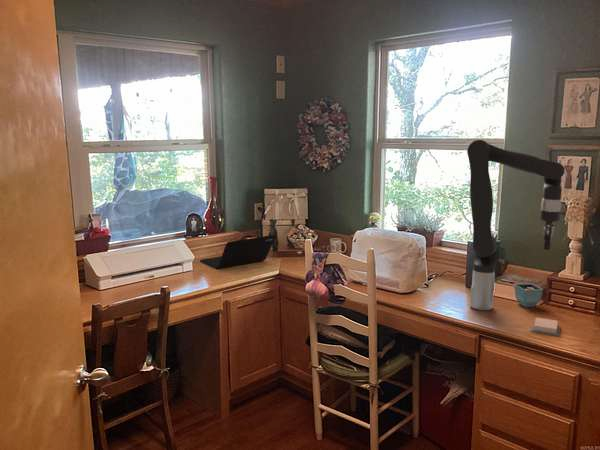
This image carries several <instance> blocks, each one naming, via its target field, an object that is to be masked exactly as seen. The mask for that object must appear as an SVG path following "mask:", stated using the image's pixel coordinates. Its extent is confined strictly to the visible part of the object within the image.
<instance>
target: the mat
mask: <svg viewBox="0 0 600 450" xmlns="http://www.w3.org/2000/svg"><path fill="white" fill-rule="evenodd" d="M534 324H535V321H534V322H532V323H531V328H530V332H533V333H539V334H546V335H551V336H557V337H559V336H560V329H561V326H559V325H557V332H556V334H553V333H547V332H541V331H535V330H534Z"/></svg>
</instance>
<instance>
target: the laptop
mask: <svg viewBox="0 0 600 450" xmlns="http://www.w3.org/2000/svg"><path fill="white" fill-rule="evenodd" d="M276 236H277V234H271V235H270V234H269V235H264V236H257V237H252V238H244V239H239V240H233V241H228V242H227V243H226V244H225V246H224V248H223V252H222V254H221V255H220V256H214V257H209V258H203V259H200V260H199V261H200V262H201V263H203V264H204V265H207V266H209V267H212V268H214V269H216V270H222V269H227V268H231V267H237V266H243V265H246V264H248V265H249V264H253V263H259V262H263V261H266V259H267V258H268V255H269V253H270V250H271V248H272V247H273V244H274V243H275V239H276V238H277V237H276Z"/></svg>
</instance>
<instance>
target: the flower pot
mask: <svg viewBox="0 0 600 450" xmlns="http://www.w3.org/2000/svg"><path fill="white" fill-rule="evenodd" d="M527 287H533V288H534V289H535V290H525V288H527ZM514 294H515V299H516V301H517V303H518V304H519V305H520V306H521V307H522V306H523V307H524V308H534V307H536V306H537V305H538V303H540V300H541V298H542V294H543V288H541V287H539V286H538V285H535V284H533V283H523V284H522V283H520V284H519V283H518V284H514Z"/></svg>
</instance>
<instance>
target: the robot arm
mask: <svg viewBox="0 0 600 450" xmlns="http://www.w3.org/2000/svg"><path fill="white" fill-rule="evenodd" d="M466 153H467V157H468V162H469V163H468V164H469V169H470V184H469V194H470V195H469V198H470V199H469V200H470V208H471V219H472V225H473V226H472V227H473V232H472V233H473V235H472V249H473V252H474V253H475V256H474V261H473V265H472V277H471V278H472V281H471V282H472V283H471V287H470V299H469V307H470V308H473V309H475V310H479V311H490V310H492V309H493V307H494V305H493V304H494V303H493V302H494V290H495V289H494V288H495V276H496V275H495V272H496V266H497V257H498V249H499V247H498V245H499V244H498V240H497V238H496V237H495V236H494V235H492V218H493V211H494V199H493V198H494V196H493V188H492V186H493V185H492V182H491V177H490V171H489V165H490V163H489V162H492V163H497V164H500V165H504V166H507V167H509V168H512V169H515V170H519V171H522V172H525V173H531V174H535V175H537V176H541V177H543V190H542V191H543V192H542V200H541V205H540V213H539V214H540V215H539V220H540V221H542V222H545V223H544V224H543V229H542V230H543V236H544V237H543V240H544V244H543V245H544V246H543V249H544V250H546V251H549V250H550V248H551V241H552V238H553V236H554V230H555V224H553V223H554V222H555V223H556V222H560V220H561V219H560V217H561V209H562V190H563V189H562V177H563V176H564V175H565V166H564V165H562V163H560V162H558V161H551V160H548V159H542V158H540V157H537V156H534V155H530V154H526V153H522V152H517V151H513V150H509V149H503V148H499V147H497V146H495V145H492V144H490V143H489V142H487V141H485V140H483V139H474V140H472V141H471V142H470V143H469V144H468V145H467V148H466Z"/></svg>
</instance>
